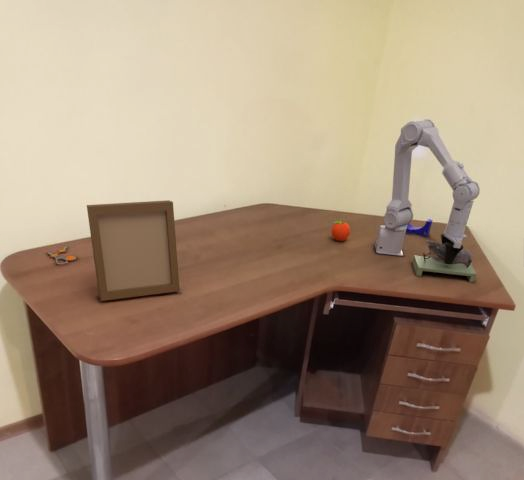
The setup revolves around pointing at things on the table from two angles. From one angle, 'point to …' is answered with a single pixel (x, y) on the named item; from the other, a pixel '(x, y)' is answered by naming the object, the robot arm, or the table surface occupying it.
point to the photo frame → (134, 248)
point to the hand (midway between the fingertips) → (446, 260)
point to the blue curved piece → (420, 229)
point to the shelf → (442, 267)
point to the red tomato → (340, 231)
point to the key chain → (62, 257)
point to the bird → (440, 250)
